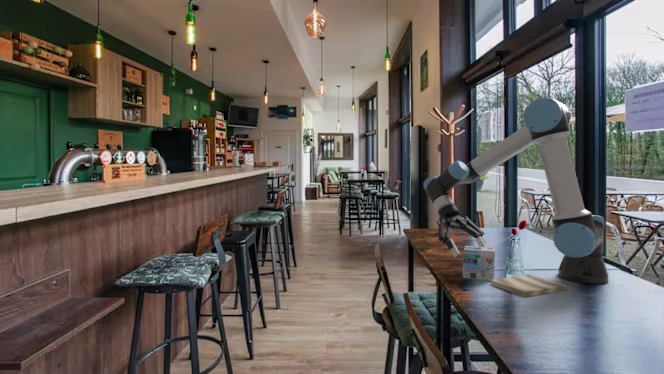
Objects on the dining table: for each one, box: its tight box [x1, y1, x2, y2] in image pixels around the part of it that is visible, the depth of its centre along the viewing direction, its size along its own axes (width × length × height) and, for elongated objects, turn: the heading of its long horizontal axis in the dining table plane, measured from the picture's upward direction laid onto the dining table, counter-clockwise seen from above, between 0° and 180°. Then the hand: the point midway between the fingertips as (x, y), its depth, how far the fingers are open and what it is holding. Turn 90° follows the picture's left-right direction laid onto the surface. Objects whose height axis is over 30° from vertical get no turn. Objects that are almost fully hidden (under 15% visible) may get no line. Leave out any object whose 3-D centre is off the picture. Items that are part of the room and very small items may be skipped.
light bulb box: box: [462, 245, 496, 282], centre depth 141 cm, size 11×7×11 cm, turn 68°
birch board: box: [490, 273, 567, 298], centre depth 130 cm, size 18×14×2 cm
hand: (472, 253), depth 143 cm, fingers open, 13 cm apart
